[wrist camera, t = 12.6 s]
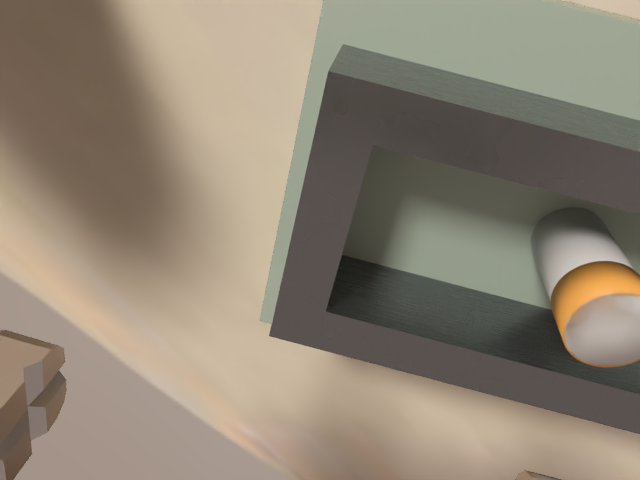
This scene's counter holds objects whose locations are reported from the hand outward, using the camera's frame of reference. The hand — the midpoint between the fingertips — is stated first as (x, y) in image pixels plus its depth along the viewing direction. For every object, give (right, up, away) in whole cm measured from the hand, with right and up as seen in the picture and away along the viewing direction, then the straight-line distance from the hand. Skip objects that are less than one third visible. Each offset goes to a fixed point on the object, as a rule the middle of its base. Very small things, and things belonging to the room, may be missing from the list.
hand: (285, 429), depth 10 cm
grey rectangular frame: (+9, +3, +10) cm, 14 cm away
